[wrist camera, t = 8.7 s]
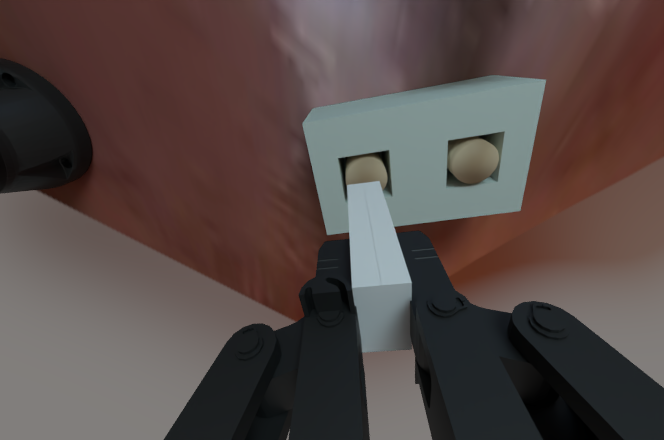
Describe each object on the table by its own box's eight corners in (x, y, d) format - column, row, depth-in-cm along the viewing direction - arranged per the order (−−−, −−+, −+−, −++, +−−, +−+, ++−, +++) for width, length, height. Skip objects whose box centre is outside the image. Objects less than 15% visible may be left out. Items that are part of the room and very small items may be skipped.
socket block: (330, 199, 38) (327, 235, 30) (312, 108, 32) (302, 123, 24) (481, 177, 35) (520, 210, 27) (492, 75, 29) (546, 79, 21)
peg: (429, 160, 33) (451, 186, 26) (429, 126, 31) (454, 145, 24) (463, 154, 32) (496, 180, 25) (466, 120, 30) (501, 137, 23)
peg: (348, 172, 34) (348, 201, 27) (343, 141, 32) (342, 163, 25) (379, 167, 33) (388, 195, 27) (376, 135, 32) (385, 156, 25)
